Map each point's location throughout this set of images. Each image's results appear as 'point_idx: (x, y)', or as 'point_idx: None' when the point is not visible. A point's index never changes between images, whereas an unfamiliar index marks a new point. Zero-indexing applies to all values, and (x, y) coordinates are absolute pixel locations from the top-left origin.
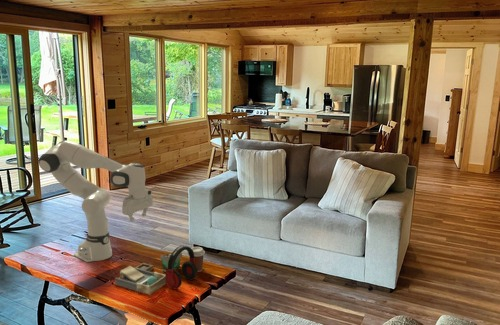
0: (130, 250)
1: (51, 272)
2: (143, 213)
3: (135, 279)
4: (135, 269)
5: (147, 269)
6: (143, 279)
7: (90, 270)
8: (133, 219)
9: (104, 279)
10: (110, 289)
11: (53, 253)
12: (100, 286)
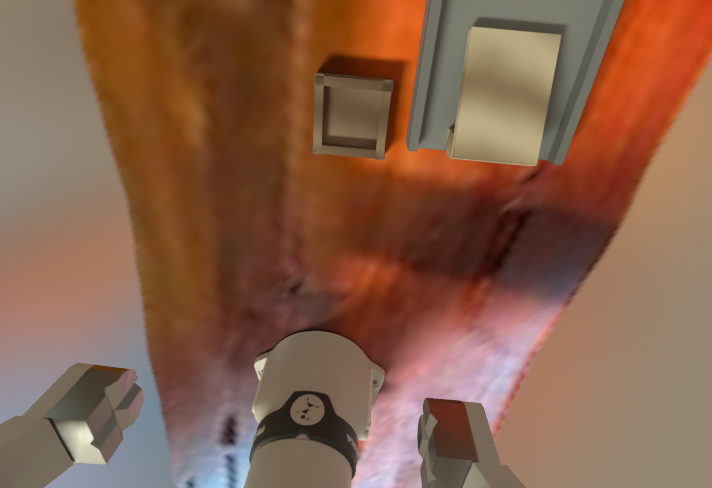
0: (210, 301)
1: (495, 412)
2: (95, 432)
3: (550, 39)
4: (463, 106)
5: (367, 79)
6: (509, 4)
7: (443, 325)
8: (455, 423)
9: (505, 232)
10: (601, 143)
11: (370, 473)
12: (576, 206)
